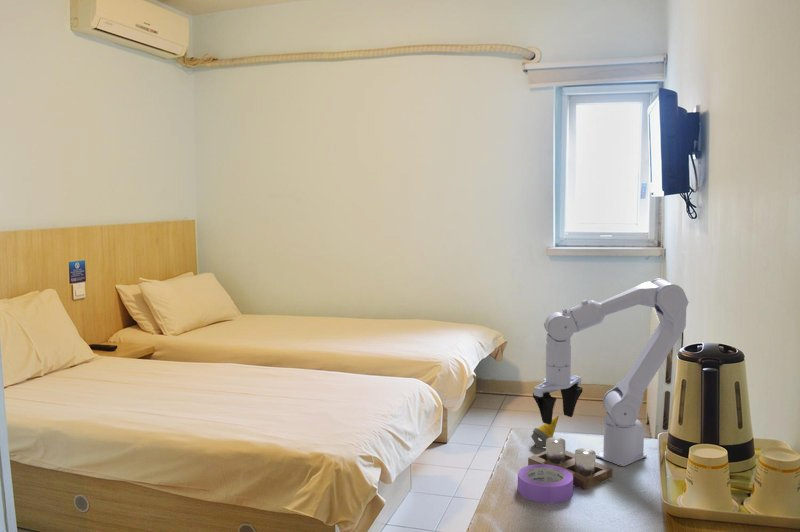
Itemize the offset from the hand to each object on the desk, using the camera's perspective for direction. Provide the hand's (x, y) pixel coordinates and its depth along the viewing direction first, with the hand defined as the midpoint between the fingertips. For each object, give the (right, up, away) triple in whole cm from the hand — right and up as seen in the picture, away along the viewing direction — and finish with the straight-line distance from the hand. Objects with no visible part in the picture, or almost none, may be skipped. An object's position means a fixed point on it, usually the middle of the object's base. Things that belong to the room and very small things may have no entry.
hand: (557, 419), depth 168 cm
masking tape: (-6, -12, -16) cm, 21 cm away
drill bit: (-1, -8, +10) cm, 13 cm away
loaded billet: (-1, -10, -3) cm, 11 cm away
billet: (+4, -11, -10) cm, 15 cm away
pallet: (+1, -10, -7) cm, 12 cm away
